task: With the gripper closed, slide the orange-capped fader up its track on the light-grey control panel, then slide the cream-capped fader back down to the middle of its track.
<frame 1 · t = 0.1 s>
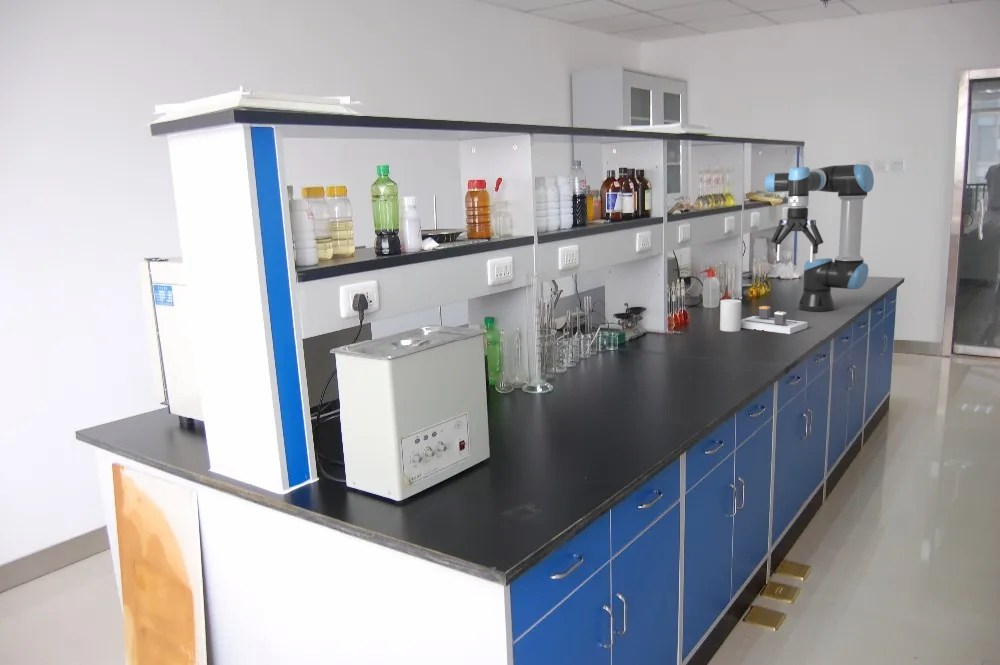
hand: (795, 261, 292), 28 cm above the counter, fingers open, 13 cm apart
panel: (770, 327, 304), on the counter
fader orange: (764, 312, 309), point 5 cm above the counter, slide at -5.0 cm
fader cream: (780, 317, 296), point 5 cm above the counter, slide at 6.0 cm
cup: (730, 330, 304), on the counter
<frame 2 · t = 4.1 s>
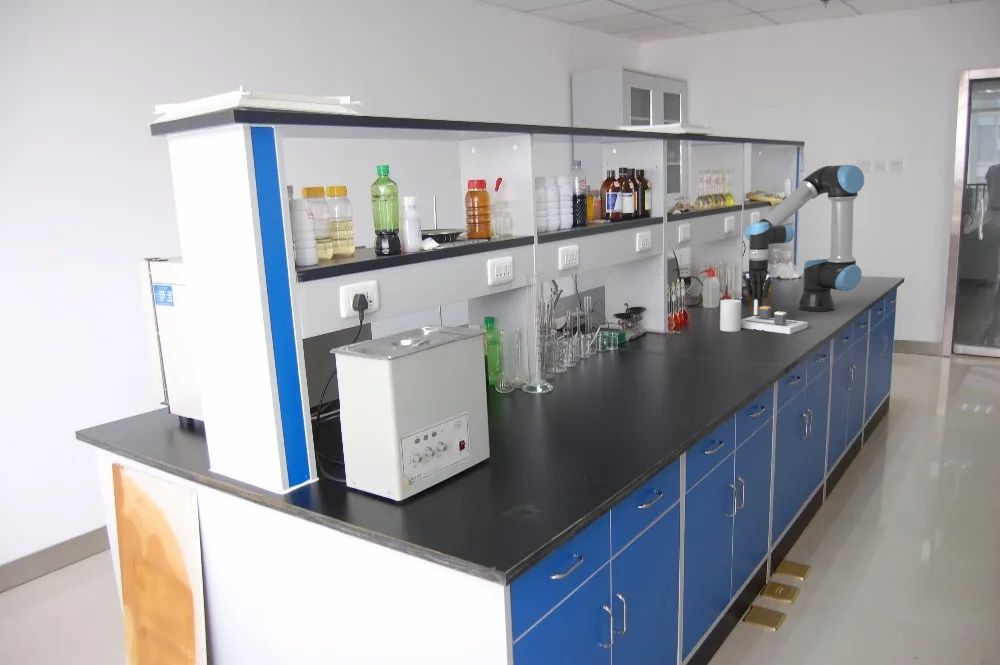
hand: (757, 314, 312), 4 cm above the counter, fingers closed
fader orange: (765, 312, 309), point 5 cm above the counter, slide at -4.9 cm, touching gripper
everything else where it was.
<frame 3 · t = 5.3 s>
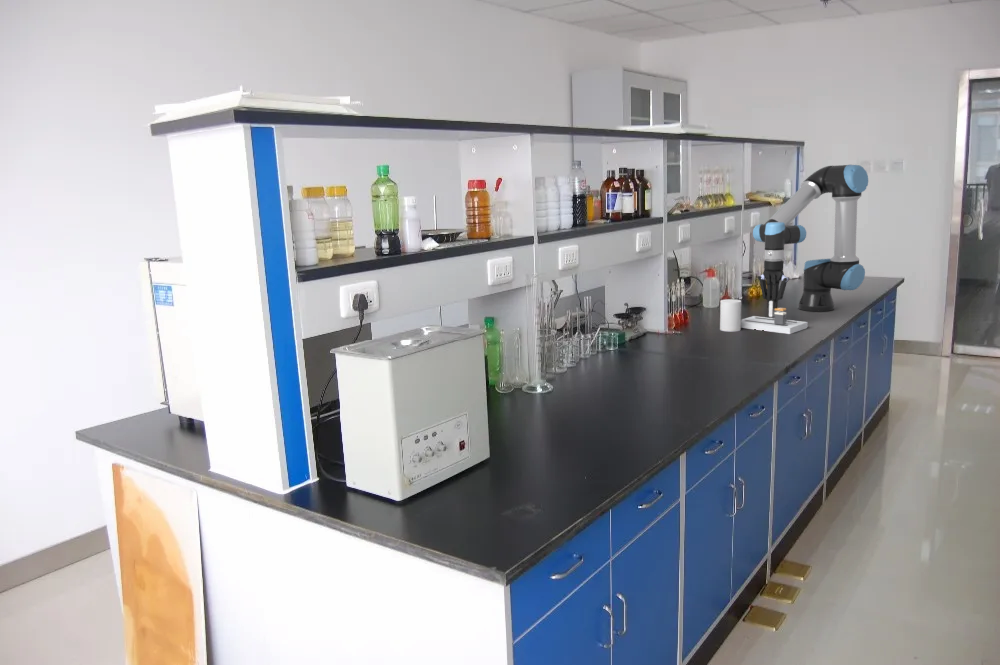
hand: (772, 316, 307), 4 cm above the counter, fingers closed
fader orange: (780, 313, 304), point 5 cm above the counter, slide at 1.9 cm, touching gripper
everything else where it was.
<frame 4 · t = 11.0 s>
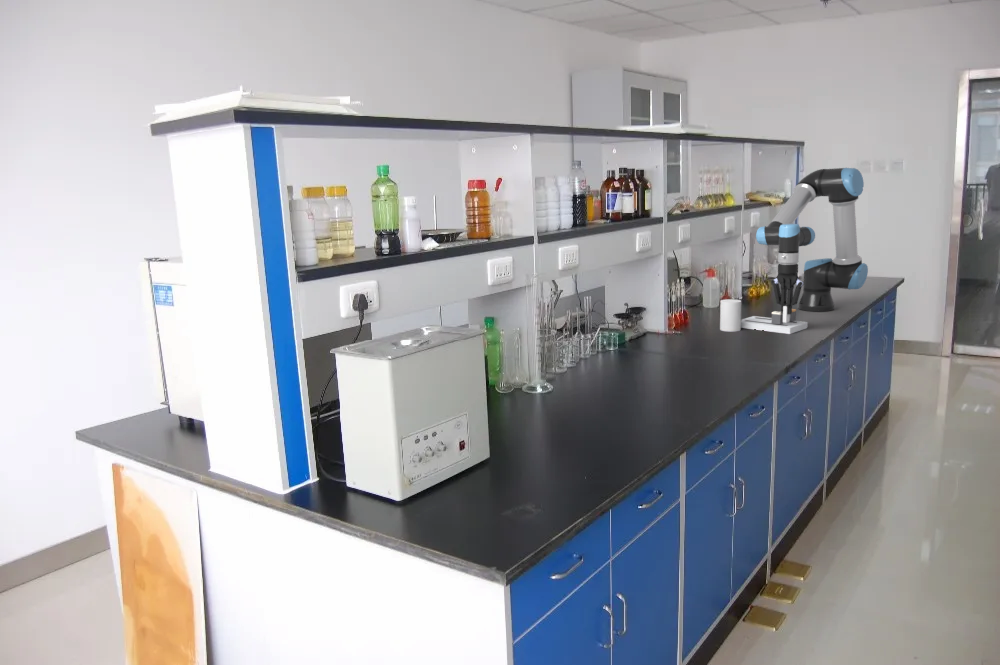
hand: (786, 321, 295), 4 cm above the counter, fingers closed
fader orange: (789, 314, 301), point 5 cm above the counter, slide at 6.1 cm
fader cream: (777, 317, 297), point 5 cm above the counter, slide at 4.8 cm, touching gripper
everything else where it was.
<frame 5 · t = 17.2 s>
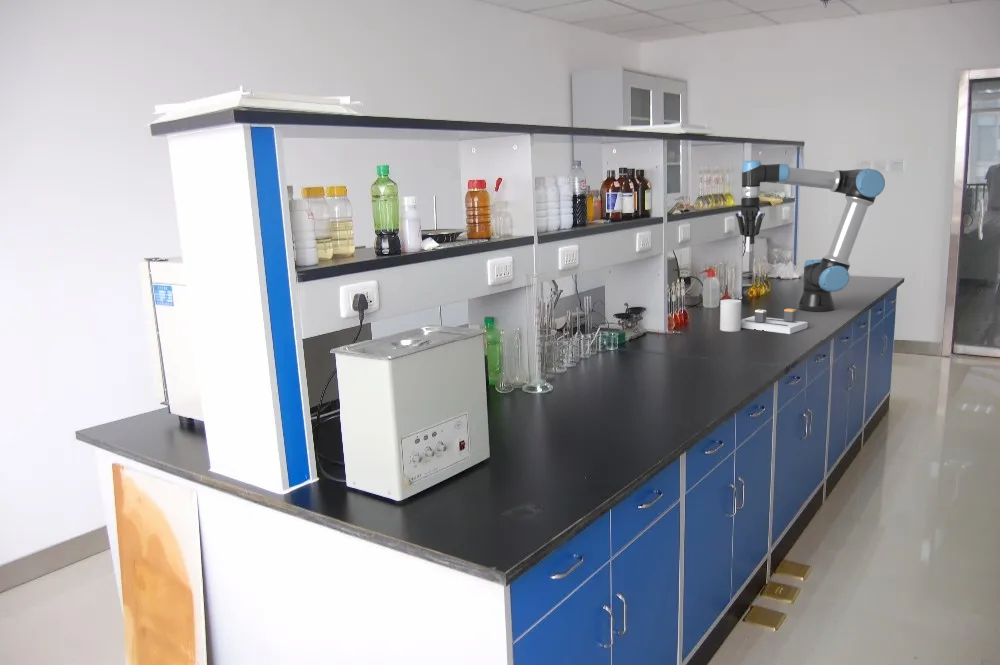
hand: (749, 251, 322), 29 cm above the counter, fingers closed
fader cream: (760, 315, 302), point 5 cm above the counter, slide at -2.6 cm
everything else where it was.
at the end: fader orange slide at 6.1 cm; fader cream slide at -2.6 cm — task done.
